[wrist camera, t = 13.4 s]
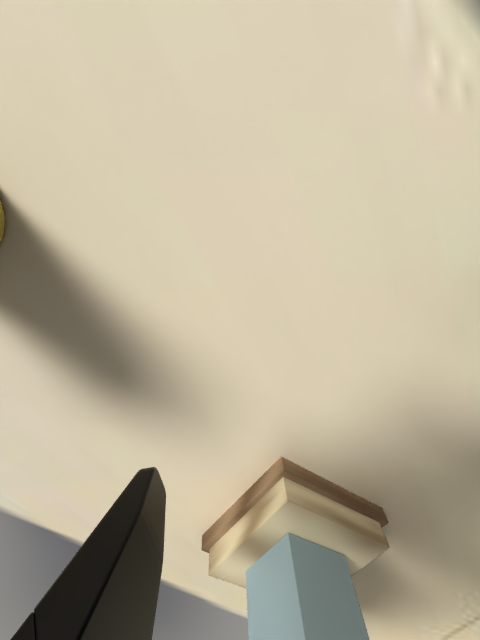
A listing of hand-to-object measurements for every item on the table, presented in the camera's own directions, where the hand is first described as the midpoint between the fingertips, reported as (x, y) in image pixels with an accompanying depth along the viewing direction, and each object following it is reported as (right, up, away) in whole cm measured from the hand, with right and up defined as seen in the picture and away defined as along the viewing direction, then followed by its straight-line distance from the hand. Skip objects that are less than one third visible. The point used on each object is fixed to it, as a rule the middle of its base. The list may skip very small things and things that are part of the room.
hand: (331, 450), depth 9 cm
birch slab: (+2, -14, +20) cm, 25 cm away
